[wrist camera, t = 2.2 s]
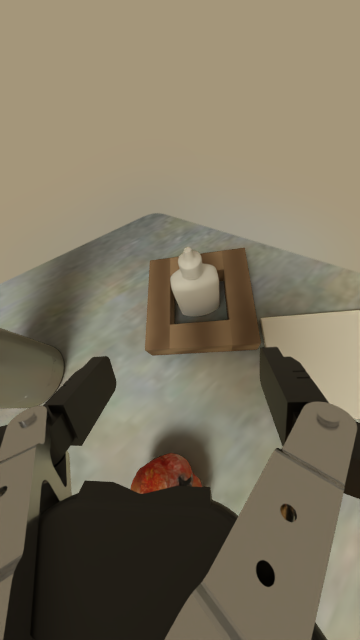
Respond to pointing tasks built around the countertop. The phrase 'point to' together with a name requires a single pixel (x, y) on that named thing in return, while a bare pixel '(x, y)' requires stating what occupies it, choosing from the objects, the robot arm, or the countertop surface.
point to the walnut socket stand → (202, 335)
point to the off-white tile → (322, 351)
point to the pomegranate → (164, 474)
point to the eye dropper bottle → (195, 285)
